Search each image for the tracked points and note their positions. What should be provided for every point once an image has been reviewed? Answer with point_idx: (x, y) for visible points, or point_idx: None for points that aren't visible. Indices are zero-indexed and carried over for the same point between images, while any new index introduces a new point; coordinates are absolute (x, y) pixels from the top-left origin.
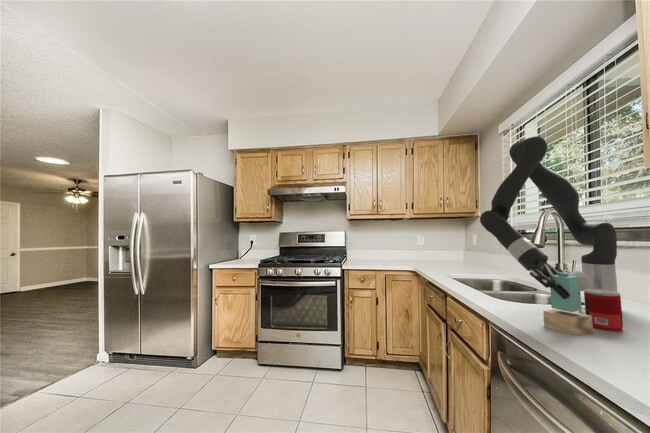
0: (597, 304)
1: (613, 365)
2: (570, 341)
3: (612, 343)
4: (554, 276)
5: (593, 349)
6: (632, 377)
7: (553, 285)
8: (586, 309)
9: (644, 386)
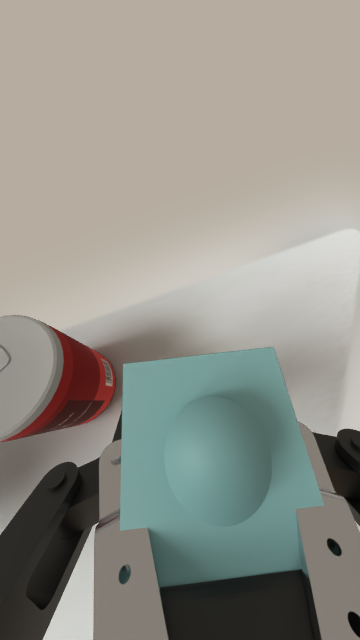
0: (85, 369)
1: (305, 271)
2: (275, 352)
3: (201, 318)
4: (314, 488)
5: (271, 313)
6: (317, 248)
7: (316, 439)
8: (82, 413)
9: (327, 235)
